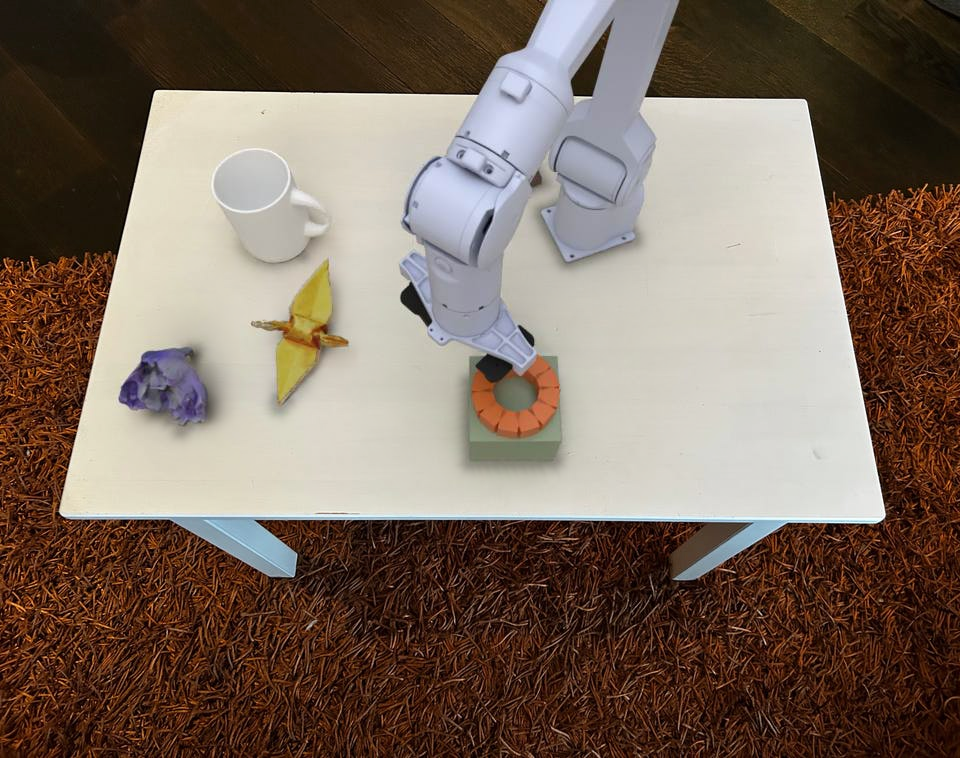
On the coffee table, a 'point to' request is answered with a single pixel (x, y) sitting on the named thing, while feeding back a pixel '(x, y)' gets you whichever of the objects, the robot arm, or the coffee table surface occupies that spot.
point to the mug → (265, 204)
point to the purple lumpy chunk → (166, 385)
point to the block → (532, 448)
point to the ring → (523, 420)
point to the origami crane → (304, 331)
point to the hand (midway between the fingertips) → (467, 349)
